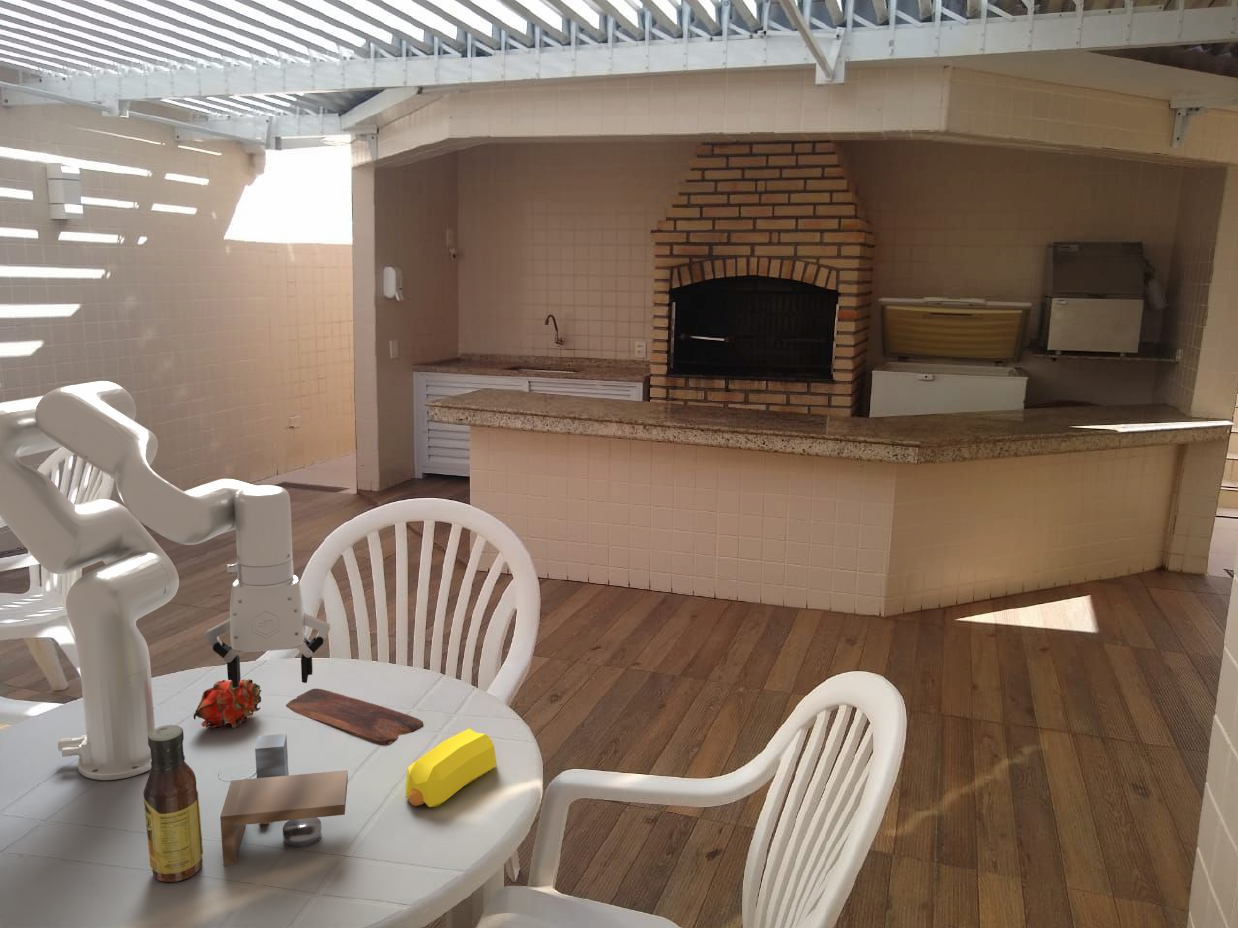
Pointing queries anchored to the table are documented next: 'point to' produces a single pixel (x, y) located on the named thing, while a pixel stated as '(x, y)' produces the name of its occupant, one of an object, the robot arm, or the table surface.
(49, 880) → the table surface
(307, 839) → the steel token
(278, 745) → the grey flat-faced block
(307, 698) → the wooden tablet
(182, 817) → the sauce bottle
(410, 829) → the table surface
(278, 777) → the walnut shelf
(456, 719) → the table surface
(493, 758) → the yellow faceted part
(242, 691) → the dragon fruit
